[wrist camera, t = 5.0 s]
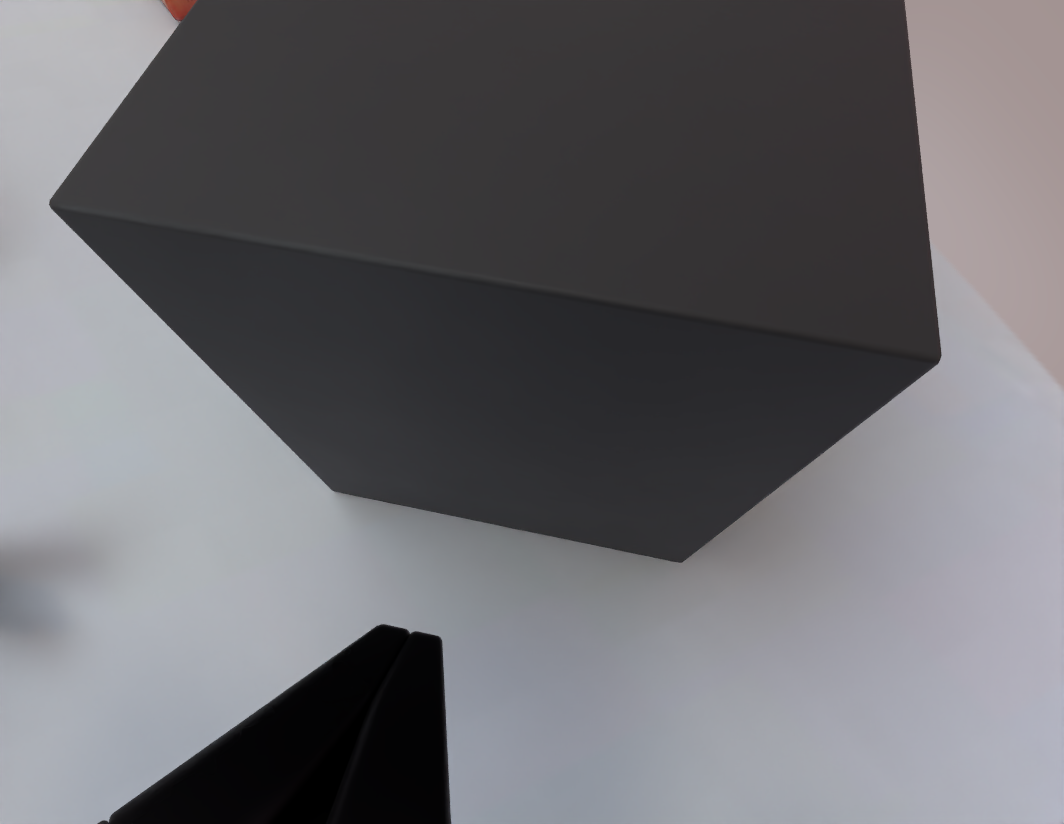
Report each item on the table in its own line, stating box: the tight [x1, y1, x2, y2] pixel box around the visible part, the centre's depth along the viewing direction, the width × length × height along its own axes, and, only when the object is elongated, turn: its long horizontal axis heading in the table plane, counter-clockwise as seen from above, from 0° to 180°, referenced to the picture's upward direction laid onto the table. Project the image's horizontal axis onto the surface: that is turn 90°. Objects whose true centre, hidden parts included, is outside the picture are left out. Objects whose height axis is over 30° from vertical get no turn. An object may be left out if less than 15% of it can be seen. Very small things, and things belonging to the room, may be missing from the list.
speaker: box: [49, 0, 941, 563], centre depth 15 cm, size 16×10×11 cm, turn 169°
